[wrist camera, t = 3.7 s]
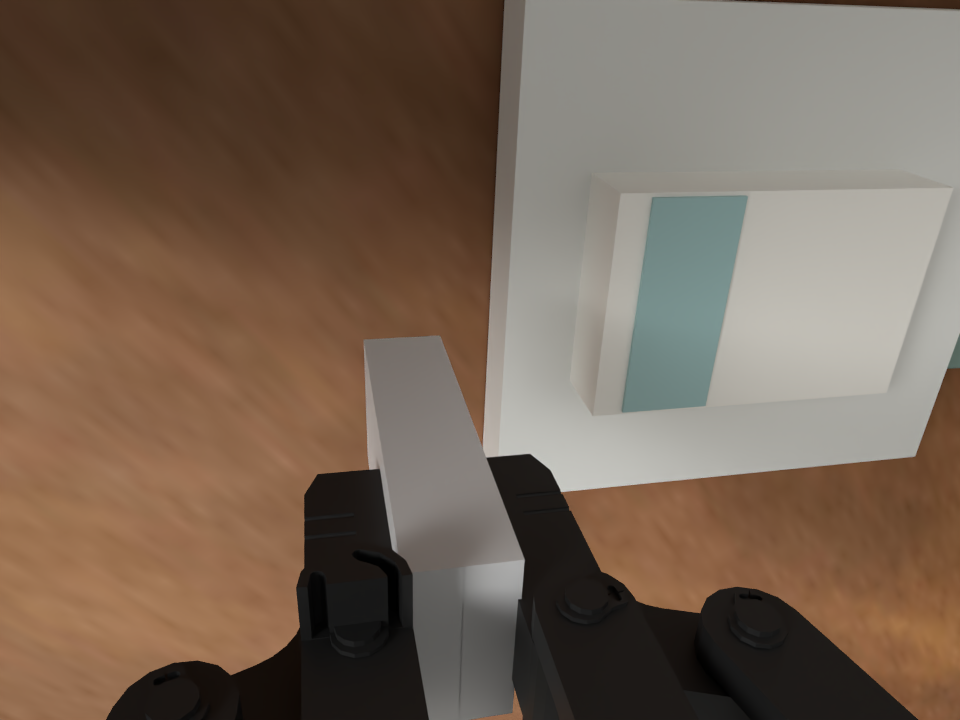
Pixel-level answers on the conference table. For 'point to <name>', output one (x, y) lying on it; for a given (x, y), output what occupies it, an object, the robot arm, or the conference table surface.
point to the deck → (691, 148)
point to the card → (748, 285)
